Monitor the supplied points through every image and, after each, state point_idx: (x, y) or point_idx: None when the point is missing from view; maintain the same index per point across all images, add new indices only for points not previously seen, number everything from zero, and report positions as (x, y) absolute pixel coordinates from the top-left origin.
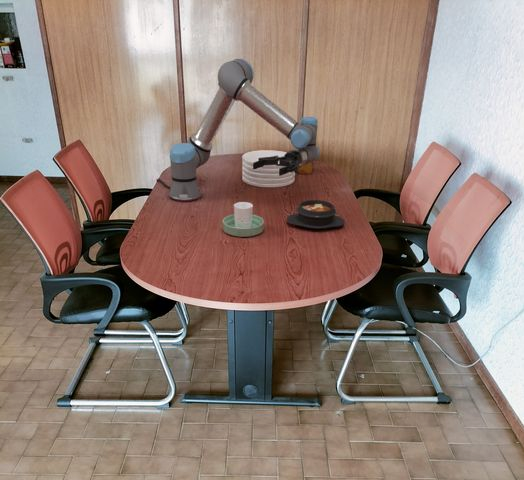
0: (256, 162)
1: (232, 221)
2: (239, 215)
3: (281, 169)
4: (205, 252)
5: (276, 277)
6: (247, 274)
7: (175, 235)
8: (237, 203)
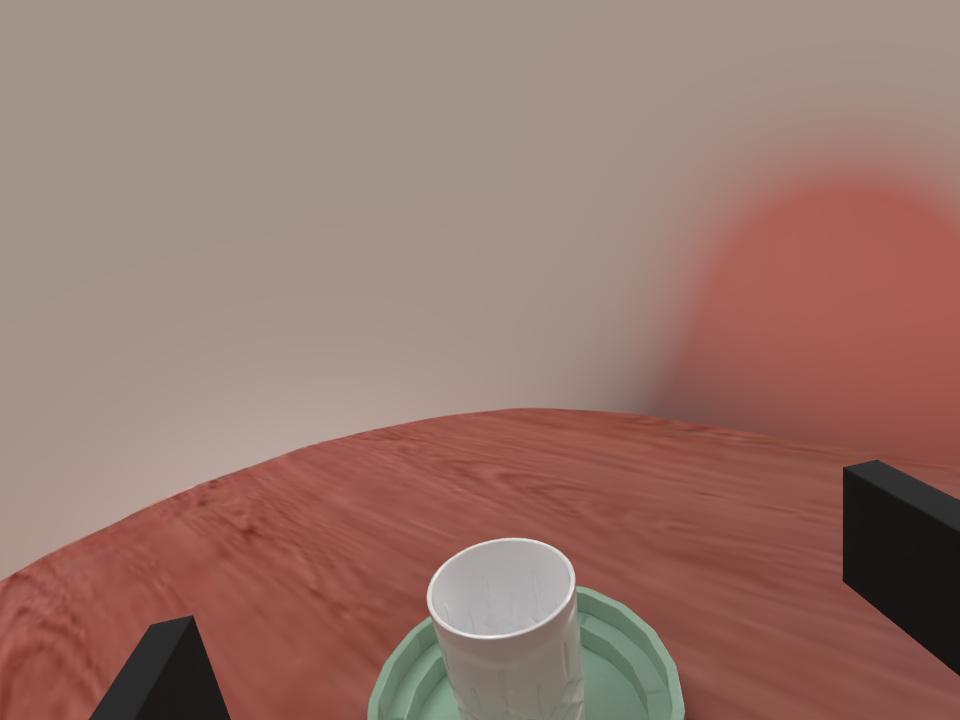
0: (902, 504)
1: (646, 702)
2: (484, 591)
3: (141, 659)
4: (448, 514)
5: (118, 588)
6: (228, 541)
7: (653, 493)
8: (570, 578)
